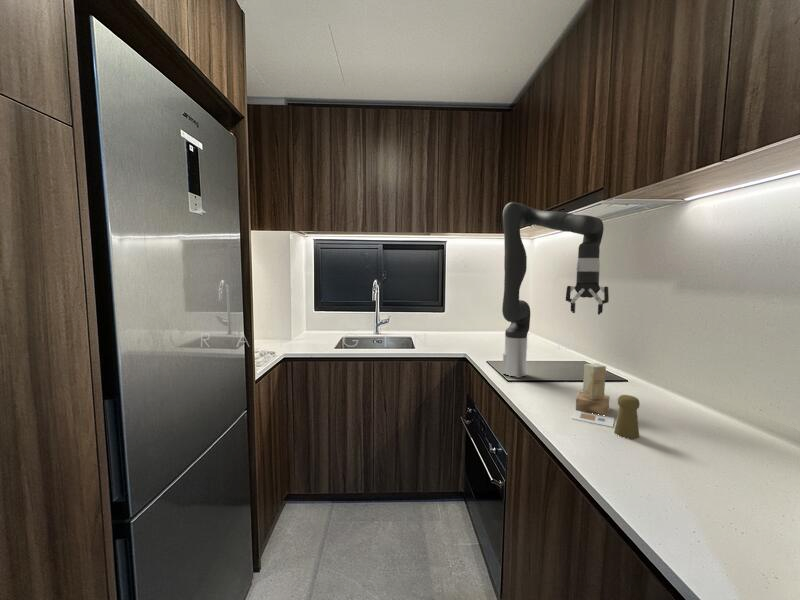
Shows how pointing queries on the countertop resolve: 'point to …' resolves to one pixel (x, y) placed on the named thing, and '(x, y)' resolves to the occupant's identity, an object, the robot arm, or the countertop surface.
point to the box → (594, 381)
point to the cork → (627, 417)
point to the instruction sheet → (593, 418)
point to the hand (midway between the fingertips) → (586, 313)
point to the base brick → (592, 404)
